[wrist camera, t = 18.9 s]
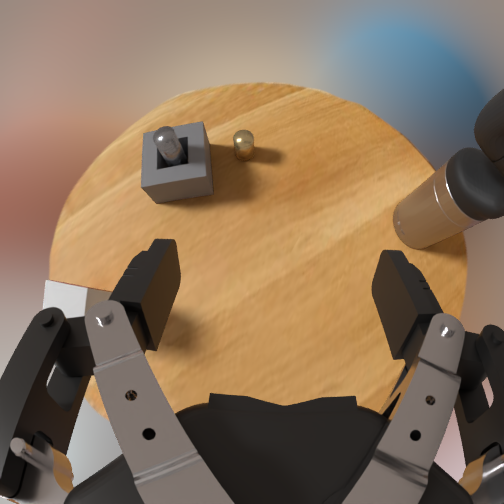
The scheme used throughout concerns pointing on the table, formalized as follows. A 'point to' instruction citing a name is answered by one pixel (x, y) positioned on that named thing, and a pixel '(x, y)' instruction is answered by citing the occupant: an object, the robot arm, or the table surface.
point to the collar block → (178, 177)
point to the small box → (72, 297)
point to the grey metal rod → (170, 146)
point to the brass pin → (244, 145)
